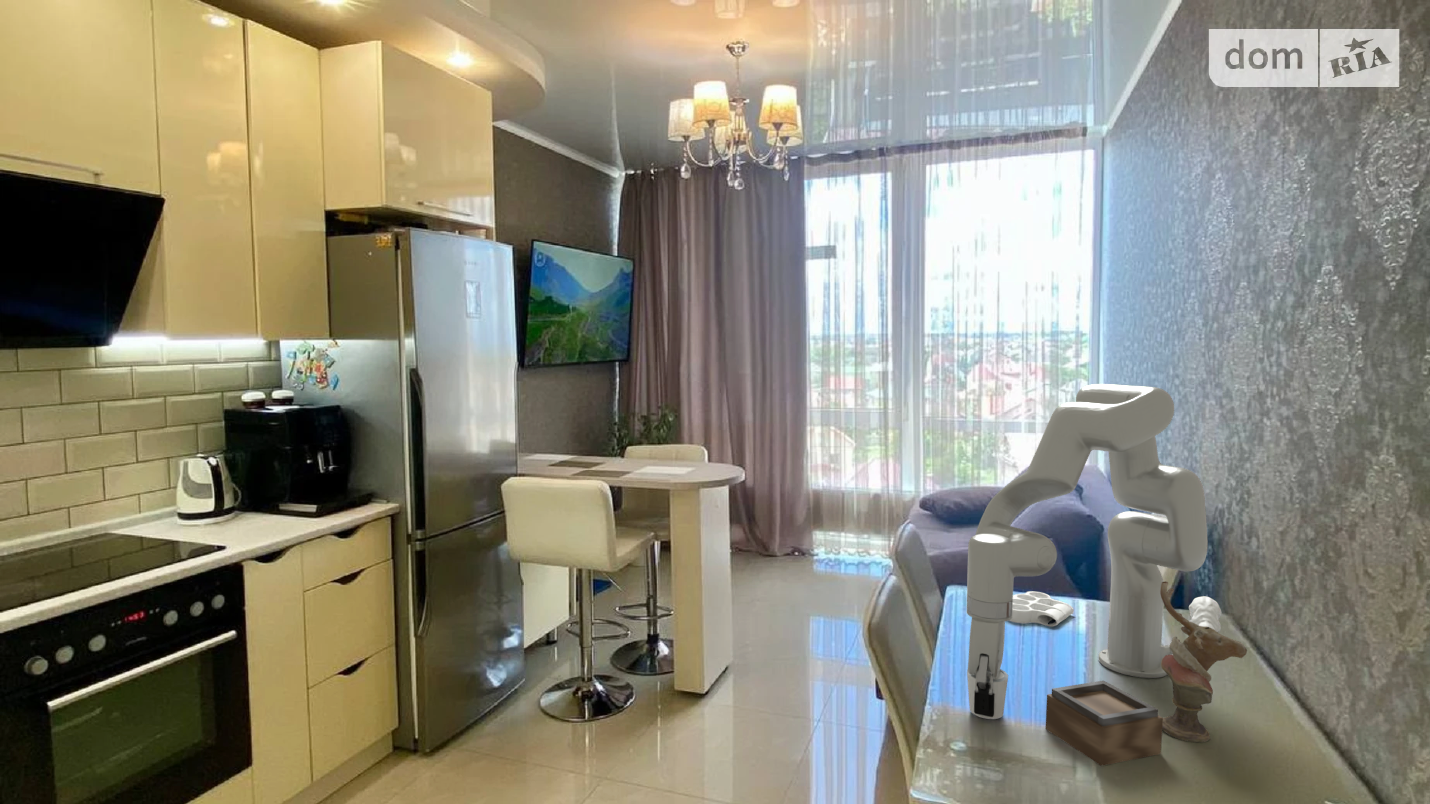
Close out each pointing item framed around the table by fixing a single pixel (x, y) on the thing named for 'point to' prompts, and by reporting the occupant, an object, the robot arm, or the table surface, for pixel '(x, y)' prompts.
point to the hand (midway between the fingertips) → (986, 705)
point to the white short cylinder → (998, 690)
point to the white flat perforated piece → (1039, 609)
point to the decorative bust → (1193, 672)
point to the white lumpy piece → (1205, 613)
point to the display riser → (1104, 722)
